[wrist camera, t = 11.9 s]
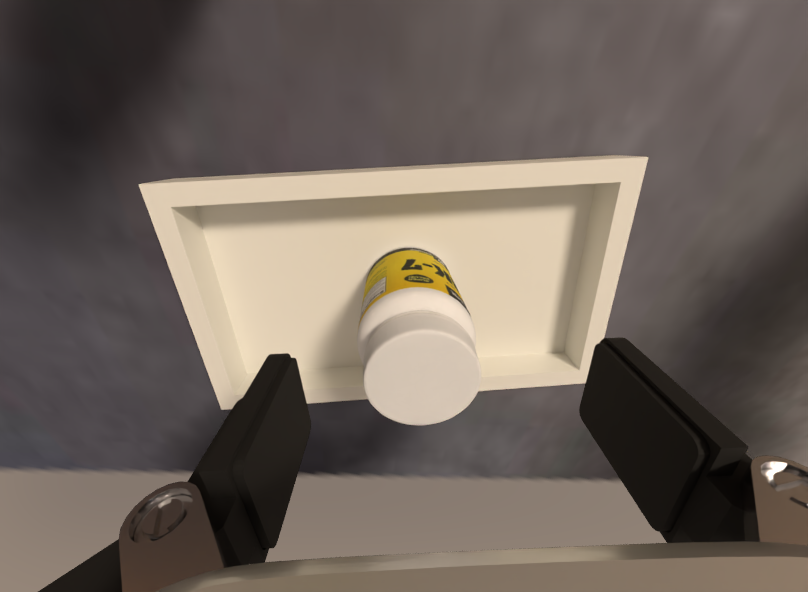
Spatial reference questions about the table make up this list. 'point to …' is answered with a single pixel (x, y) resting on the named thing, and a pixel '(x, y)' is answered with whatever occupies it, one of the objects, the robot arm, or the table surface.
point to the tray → (388, 229)
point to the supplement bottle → (416, 339)
